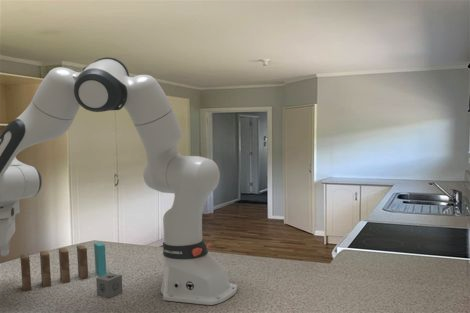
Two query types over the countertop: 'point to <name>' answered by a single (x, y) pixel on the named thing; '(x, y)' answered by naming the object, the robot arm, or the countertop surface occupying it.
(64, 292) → the countertop surface
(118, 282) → the grey cube
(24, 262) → the domino
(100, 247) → the domino
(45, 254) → the domino
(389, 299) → the countertop surface
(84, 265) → the domino
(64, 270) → the domino
